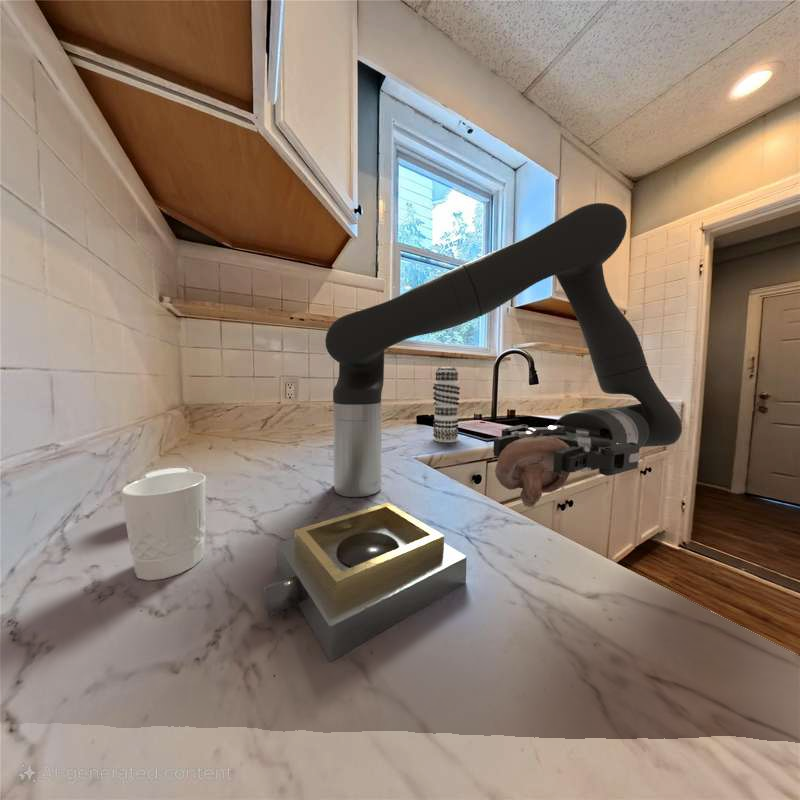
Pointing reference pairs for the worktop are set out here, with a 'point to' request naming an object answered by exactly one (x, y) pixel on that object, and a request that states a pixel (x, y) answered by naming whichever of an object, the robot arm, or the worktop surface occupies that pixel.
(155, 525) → the white cup
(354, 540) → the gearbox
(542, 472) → the mushroom
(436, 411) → the decorative candle
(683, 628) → the worktop surface
